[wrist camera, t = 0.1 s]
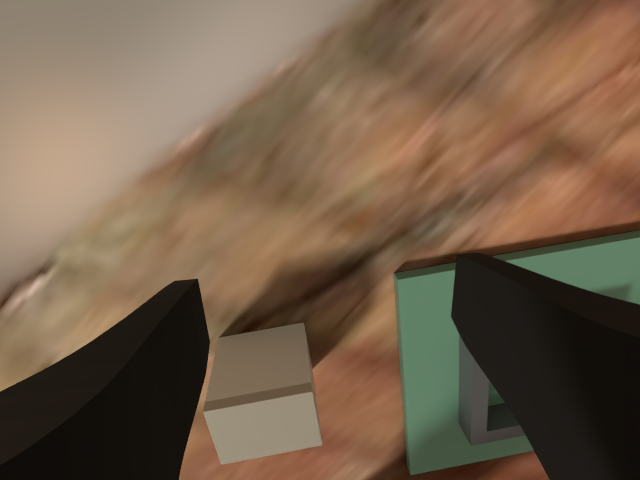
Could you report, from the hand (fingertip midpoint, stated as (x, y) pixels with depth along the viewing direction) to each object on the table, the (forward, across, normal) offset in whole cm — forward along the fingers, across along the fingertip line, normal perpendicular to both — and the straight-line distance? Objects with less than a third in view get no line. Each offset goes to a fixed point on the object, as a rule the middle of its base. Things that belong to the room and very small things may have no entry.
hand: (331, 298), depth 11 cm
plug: (+10, +3, +10) cm, 14 cm away
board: (+10, -13, +12) cm, 21 cm away
